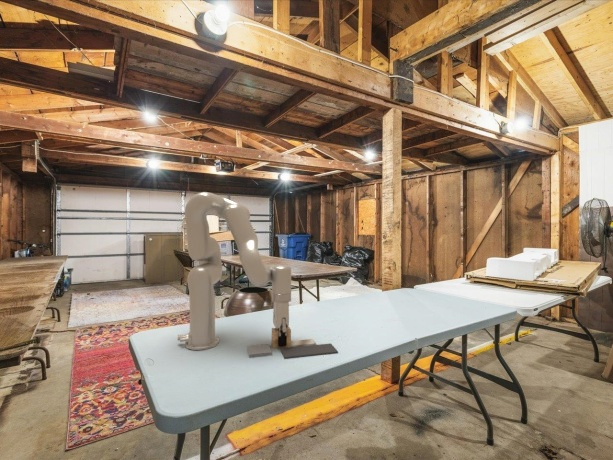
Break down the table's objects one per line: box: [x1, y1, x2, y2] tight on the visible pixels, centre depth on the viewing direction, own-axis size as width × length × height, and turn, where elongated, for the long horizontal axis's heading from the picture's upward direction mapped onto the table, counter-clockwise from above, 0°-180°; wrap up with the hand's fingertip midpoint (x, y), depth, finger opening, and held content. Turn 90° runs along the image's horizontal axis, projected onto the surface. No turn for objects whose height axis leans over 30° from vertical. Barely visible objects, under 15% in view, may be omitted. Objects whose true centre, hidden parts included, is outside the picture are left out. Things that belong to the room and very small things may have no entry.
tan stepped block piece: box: [271, 326, 317, 349], centre depth 119 cm, size 17×5×6 cm, turn 105°
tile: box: [246, 343, 273, 359], centre depth 112 cm, size 8×2×8 cm
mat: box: [280, 343, 339, 360], centre depth 113 cm, size 20×8×1 cm, turn 105°
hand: (281, 343), depth 118 cm, fingers closed on tan stepped block piece, 3 cm apart
